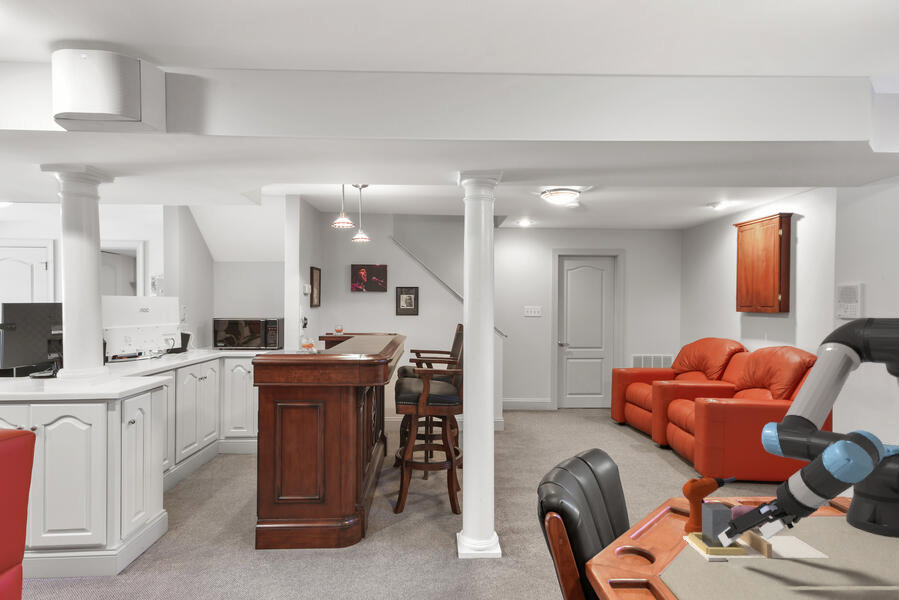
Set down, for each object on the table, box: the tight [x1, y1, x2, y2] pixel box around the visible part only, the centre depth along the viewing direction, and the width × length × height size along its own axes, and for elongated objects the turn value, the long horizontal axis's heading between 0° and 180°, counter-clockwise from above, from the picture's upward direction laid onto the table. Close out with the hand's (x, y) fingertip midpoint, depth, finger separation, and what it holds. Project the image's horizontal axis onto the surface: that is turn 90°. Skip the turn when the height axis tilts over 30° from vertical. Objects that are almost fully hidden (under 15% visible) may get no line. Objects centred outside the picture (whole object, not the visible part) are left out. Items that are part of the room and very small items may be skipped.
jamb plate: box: [682, 529, 830, 562], centre depth 135 cm, size 30×13×4 cm, turn 92°
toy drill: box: [681, 476, 737, 534], centre depth 148 cm, size 5×19×15 cm, turn 108°
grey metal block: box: [701, 502, 732, 547], centre depth 134 cm, size 5×5×10 cm
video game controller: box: [730, 504, 768, 528], centre depth 149 cm, size 10×5×7 cm, turn 59°
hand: (743, 537), depth 127 cm, fingers open, 13 cm apart
